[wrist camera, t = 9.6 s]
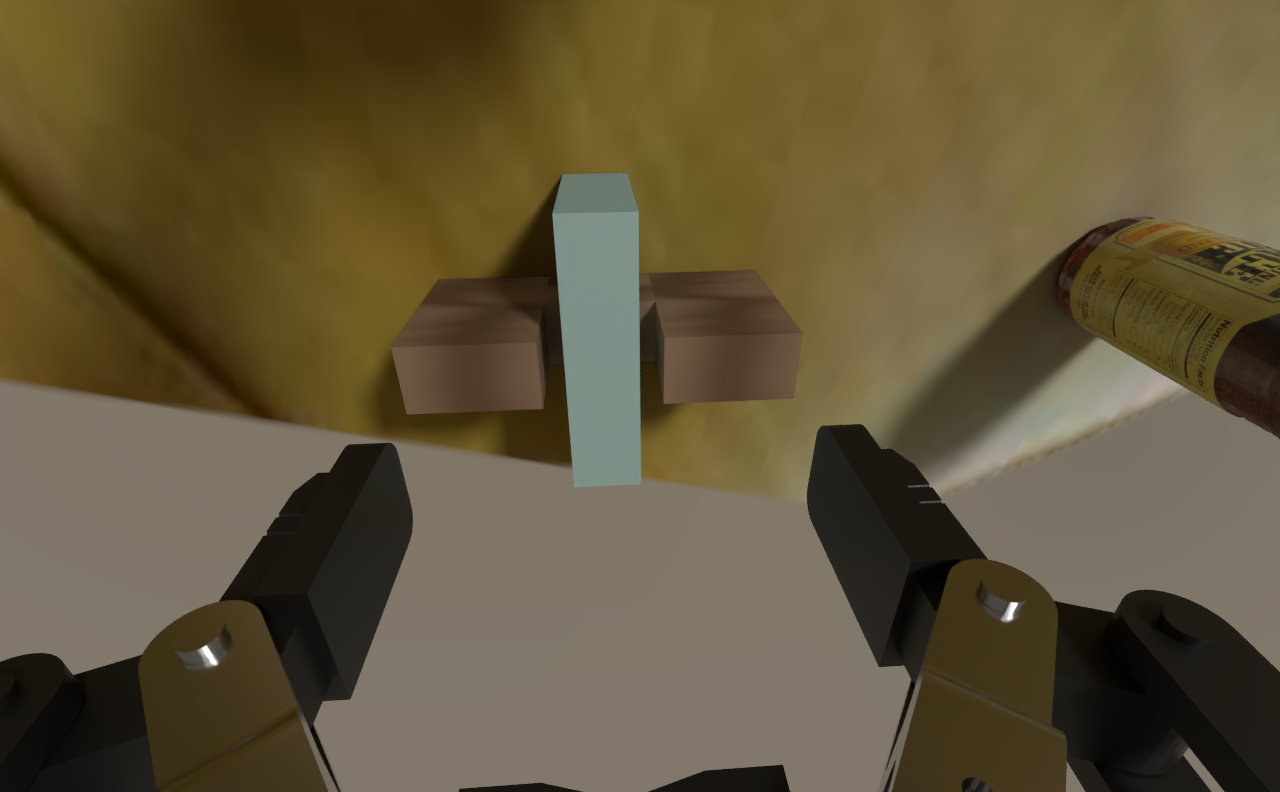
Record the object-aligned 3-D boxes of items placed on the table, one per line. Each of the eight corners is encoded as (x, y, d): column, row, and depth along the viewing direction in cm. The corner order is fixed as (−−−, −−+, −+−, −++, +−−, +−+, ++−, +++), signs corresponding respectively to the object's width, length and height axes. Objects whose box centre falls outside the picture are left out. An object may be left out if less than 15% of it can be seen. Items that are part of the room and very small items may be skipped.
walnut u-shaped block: (448, 334, 31) (406, 414, 24) (438, 279, 30) (390, 347, 23) (749, 324, 32) (793, 398, 25) (755, 270, 31) (802, 332, 24)
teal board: (562, 174, 28) (552, 213, 21) (627, 172, 28) (638, 211, 21) (577, 398, 34) (574, 487, 27) (631, 396, 34) (640, 483, 27)
